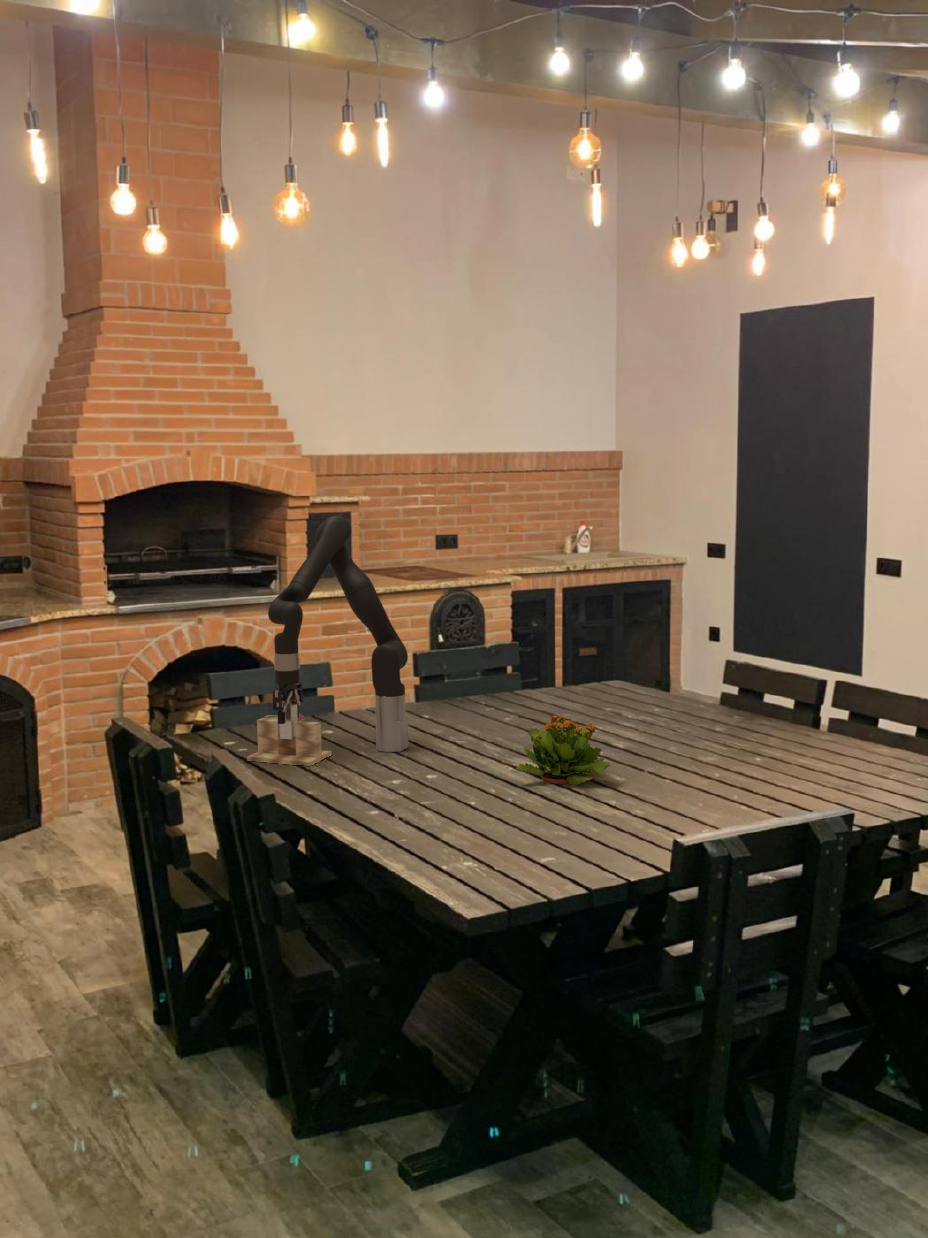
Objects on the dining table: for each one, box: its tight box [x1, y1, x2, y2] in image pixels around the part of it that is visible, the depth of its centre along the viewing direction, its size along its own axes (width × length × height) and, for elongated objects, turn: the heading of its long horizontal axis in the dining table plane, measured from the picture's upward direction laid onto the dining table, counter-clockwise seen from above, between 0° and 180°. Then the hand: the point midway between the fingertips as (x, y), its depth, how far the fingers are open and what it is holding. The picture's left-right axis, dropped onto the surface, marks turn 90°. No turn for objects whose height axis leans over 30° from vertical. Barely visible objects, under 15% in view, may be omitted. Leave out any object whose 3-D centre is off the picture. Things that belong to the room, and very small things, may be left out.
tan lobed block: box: [246, 714, 333, 766], centre depth 371 cm, size 21×14×12 cm, turn 69°
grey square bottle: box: [279, 702, 298, 739], centre depth 370 cm, size 4×4×13 cm
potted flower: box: [516, 715, 612, 786], centre depth 344 cm, size 25×24×18 cm
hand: (288, 721), depth 370 cm, fingers open, 8 cm apart
